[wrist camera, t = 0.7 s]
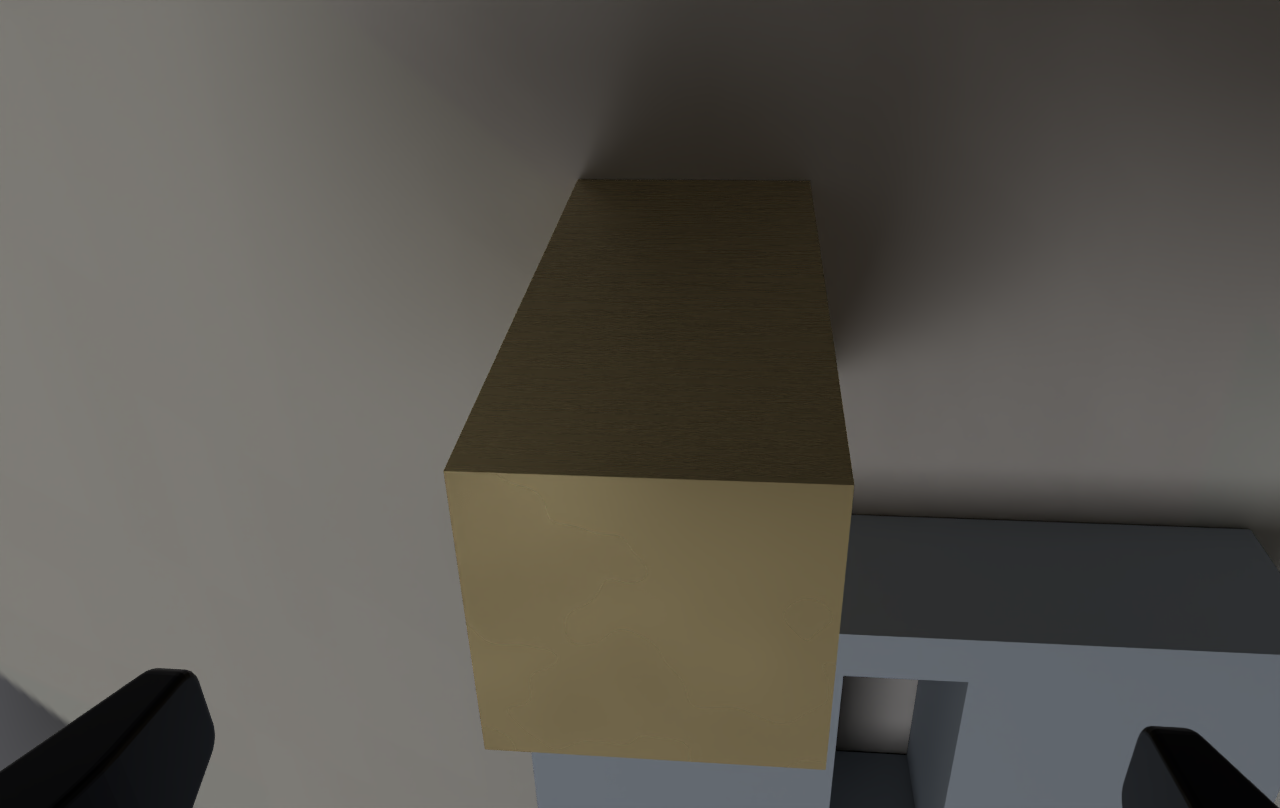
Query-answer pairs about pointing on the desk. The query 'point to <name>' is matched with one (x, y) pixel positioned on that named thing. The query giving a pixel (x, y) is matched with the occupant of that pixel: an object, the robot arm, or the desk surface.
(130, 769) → the robot arm
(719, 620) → the brass square bit
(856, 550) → the slate bore board
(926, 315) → the desk surface
